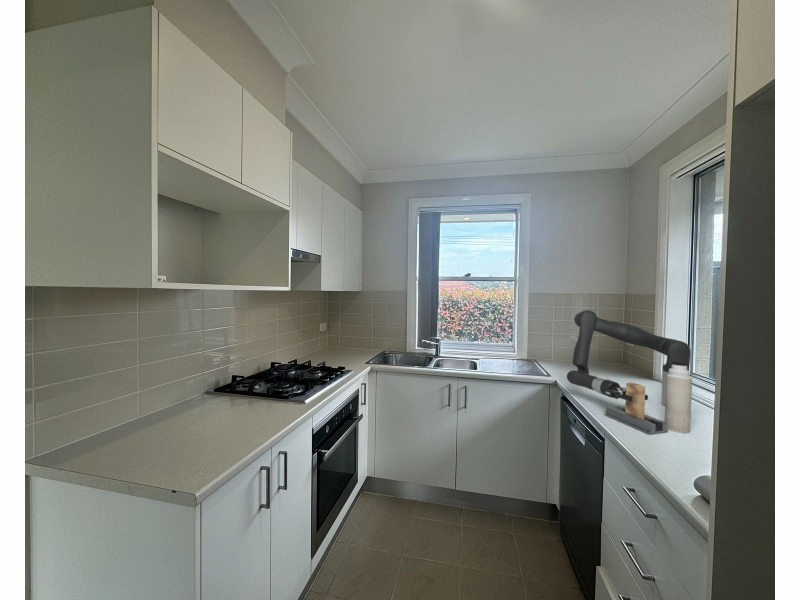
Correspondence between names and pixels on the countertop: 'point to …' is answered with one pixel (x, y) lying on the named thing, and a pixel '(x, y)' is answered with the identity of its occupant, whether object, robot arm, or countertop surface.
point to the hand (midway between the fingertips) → (639, 398)
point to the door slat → (635, 400)
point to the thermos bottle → (678, 398)
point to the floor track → (637, 421)
